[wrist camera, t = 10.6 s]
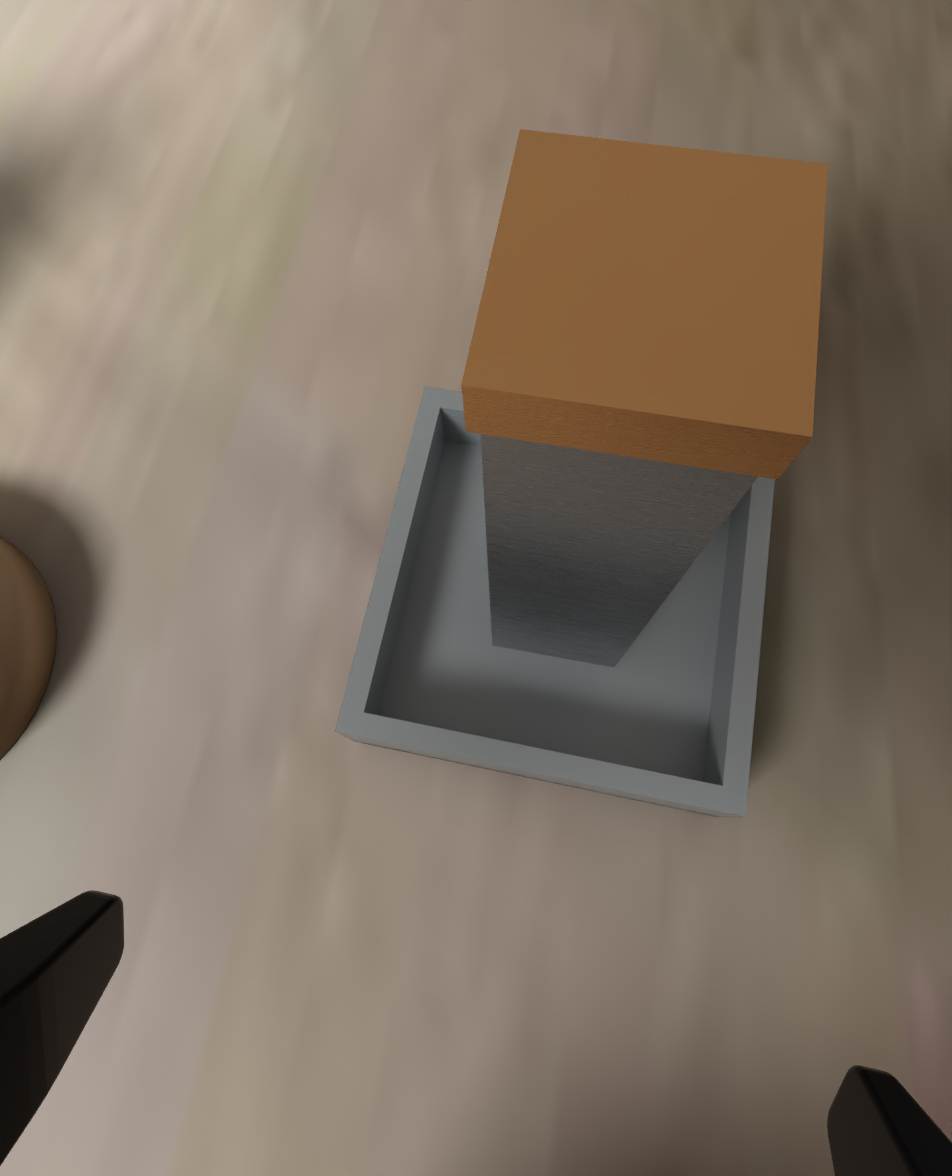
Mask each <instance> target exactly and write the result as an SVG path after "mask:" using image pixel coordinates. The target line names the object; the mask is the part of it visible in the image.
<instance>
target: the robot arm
mask: <svg viewBox="0 0 952 1176" xmlns="http://www.w3.org/2000/svg"><path fill="white" fill-rule="evenodd" d="M123 949H124V917H123V902H122V900H121V898H120V897H118V896H116V895H112V894H108V893H103V892H99V891H87V892H84V893H82V894H80V895H78V896H76V897H75V898H73V899H71V900H69V901H67V902H65V903H64V904H62V905H60V906H58V907H56V908H55V909H53V910H51V911H49V912H47V913H46V914H44V915H42V916H40V917H38V918H37V919H35V920H33V921H31V922H29V923H28V924H26V925H24V926H22V927H20V928H19V929H17V930H15V931H13V932H11V933H9V934H8V935H6V936H4V937H2V938H0V1166H1V1164H2V1163H3V1161H4V1160H5V1158H6V1157H7V1155H8V1154H9V1152H10V1151H11V1149H12V1148H13V1146H14V1145H15V1143H16V1142H17V1140H18V1139H19V1137H20V1136H21V1134H22V1133H23V1131H24V1130H25V1128H26V1127H27V1125H28V1124H29V1122H30V1121H31V1119H32V1118H33V1116H34V1114H35V1113H36V1111H37V1110H38V1108H39V1107H40V1105H41V1103H42V1102H43V1100H44V1099H45V1097H46V1096H47V1094H48V1092H49V1090H50V1089H51V1087H52V1085H53V1083H54V1082H55V1080H56V1078H57V1076H58V1075H59V1073H60V1071H61V1069H62V1068H63V1066H64V1064H65V1062H66V1060H67V1058H68V1056H69V1055H70V1053H71V1051H72V1049H73V1047H74V1045H75V1044H76V1042H77V1040H78V1038H79V1036H80V1034H81V1033H82V1031H83V1029H84V1027H85V1025H86V1023H87V1022H88V1020H89V1018H90V1016H91V1014H92V1012H93V1011H94V1009H95V1007H96V1005H97V1003H98V1001H99V999H100V998H101V996H102V994H103V992H104V990H105V988H106V987H107V985H108V983H109V981H110V979H111V977H112V976H113V974H114V972H115V970H116V968H117V966H118V964H119V962H120V959H121V957H122V953H123ZM827 1129H828V1138H829V1143H830V1149H831V1155H832V1161H833V1167H834V1173H835V1176H952V1142H951V1141H950V1140H949V1139H948V1138H947V1136H946V1135H945V1134H944V1133H943V1132H942V1131H941V1130H940V1128H939V1127H938V1126H937V1125H936V1124H935V1123H934V1122H933V1120H932V1119H931V1118H930V1117H929V1116H928V1115H927V1114H926V1112H925V1111H924V1110H923V1109H922V1108H921V1107H920V1105H919V1104H918V1103H917V1102H916V1101H915V1100H914V1099H913V1097H912V1096H911V1095H910V1094H909V1093H908V1092H907V1091H906V1089H905V1088H904V1087H903V1086H902V1085H901V1084H900V1083H899V1081H898V1080H897V1079H896V1078H894V1077H893V1076H892V1075H891V1074H889V1073H887V1072H885V1071H881V1070H877V1069H873V1068H868V1067H864V1066H859V1065H855V1066H853V1067H851V1068H850V1069H849V1070H848V1071H847V1073H846V1075H845V1078H844V1080H843V1082H842V1084H841V1086H840V1088H839V1090H838V1092H837V1094H836V1097H835V1099H834V1101H833V1103H832V1105H831V1107H830V1110H829V1114H828V1121H827Z"/></svg>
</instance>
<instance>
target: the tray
mask: <svg viewBox="0 0 952 1176" xmlns="http://www.w3.org/2000/svg"><path fill="white" fill-rule="evenodd" d="M774 484H775V479H771V478H764V477H757V479H756V480H755V481H754V483H753V484H752V485H751V487H750V488H749V489H748V491H747V492H746V493H745V495H744V496H743V497H742V499H741V500H740V501H739V503H738V504H737V505H736V507H735V508H734V509H733V511H732V512H731V513H730V515H729V516H728V517H727V519H726V520H725V521H724V523H723V524H722V525H721V526H720V528H719V529H718V530H717V532H716V533H715V534H714V536H713V537H712V538H711V540H710V541H709V542H708V544H707V545H706V546H705V548H704V549H703V550H702V552H701V553H700V554H699V556H698V557H697V558H696V560H695V561H694V562H693V564H692V565H691V566H690V568H689V569H688V570H687V572H686V573H685V574H684V576H683V577H682V578H681V580H680V581H679V582H678V584H677V585H676V586H675V588H674V589H673V590H672V592H671V593H670V594H669V596H668V597H667V598H666V599H665V601H664V602H663V603H662V605H661V606H660V607H659V609H658V610H657V611H656V613H655V614H654V615H653V617H652V618H651V619H650V621H649V622H648V623H647V625H646V626H645V627H644V629H643V630H642V631H641V633H640V634H639V635H638V637H637V638H636V639H635V641H634V642H633V643H632V645H631V646H630V647H629V649H628V650H627V651H626V653H625V654H624V655H623V657H622V658H621V659H620V661H619V662H618V663H617V665H616V666H615V667H614V668H613V667H608V666H602V665H597V664H591V663H586V662H580V661H575V660H569V659H564V658H558V657H553V656H547V655H541V654H536V653H530V652H525V651H519V650H514V649H508V648H503V647H497V646H492V632H491V614H490V596H489V578H488V560H487V542H486V524H485V506H484V488H483V470H482V452H481V434H478V433H471V432H466V429H465V418H464V407H463V396H462V392H456V391H450V390H444V389H437V388H431V387H424V391H423V395H422V399H421V403H420V406H419V410H418V414H417V418H416V422H415V426H414V429H413V433H412V437H411V441H410V445H409V449H408V452H407V456H406V460H405V464H404V468H403V472H402V475H401V479H400V483H399V487H398V491H397V495H396V498H395V502H394V506H393V510H392V514H391V518H390V521H389V525H388V529H387V533H386V537H385V541H384V544H383V548H382V552H381V556H380V560H379V564H378V567H377V571H376V575H375V579H374V583H373V587H372V590H371V594H370V598H369V602H368V606H367V610H366V613H365V617H364V621H363V625H362V629H361V633H360V637H359V640H358V644H357V648H356V652H355V656H354V660H353V663H352V667H351V671H350V675H349V679H348V683H347V686H346V690H345V694H344V698H343V702H342V706H341V709H340V713H339V717H338V721H337V725H336V729H335V732H337V733H339V734H341V735H343V736H345V737H347V738H349V739H351V740H353V741H356V742H360V743H365V744H370V745H375V746H379V747H384V748H389V749H394V750H399V751H403V752H408V753H413V754H418V755H423V756H427V757H432V758H437V759H442V760H447V761H451V762H456V763H461V764H466V765H471V766H475V767H480V768H485V769H490V770H494V771H499V772H504V773H509V774H514V775H518V776H523V777H528V778H533V779H538V780H542V781H547V782H552V783H557V784H562V785H566V786H571V787H576V788H581V789H586V790H590V791H595V792H600V793H605V794H609V795H614V796H619V797H624V798H629V799H633V800H638V801H643V802H648V803H653V804H657V805H662V806H667V807H672V808H677V809H681V810H686V811H691V812H696V813H701V814H705V815H710V816H715V817H746V808H747V797H748V785H749V774H750V762H751V750H752V739H753V727H754V716H755V704H756V693H757V681H758V669H759V658H760V646H761V635H762V623H763V612H764V600H765V588H766V577H767V565H768V554H769V542H770V531H771V519H772V507H773V496H774Z"/></svg>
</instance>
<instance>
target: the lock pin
mask: <svg viewBox="0 0 952 1176" xmlns="http://www.w3.org/2000/svg"><path fill="white" fill-rule="evenodd" d="M827 175H828V164H821V163H812V162H804V161H795V160H786V159H777V158H768V157H759V156H751V155H742V154H733V153H724V152H715V151H707V150H698V149H689V148H680V147H671V146H662V145H654V144H645V143H636V142H627V141H618V140H609V139H601V138H592V137H583V136H574V135H565V134H557V133H548V132H539V131H530V130H521V129H520V132H519V137H518V141H517V146H516V150H515V154H514V159H513V163H512V167H511V172H510V176H509V180H508V185H507V189H506V193H505V198H504V202H503V206H502V211H501V215H500V219H499V224H498V228H497V233H496V237H495V241H494V246H493V250H492V254H491V259H490V263H489V267H488V272H487V276H486V280H485V285H484V289H483V293H482V298H481V302H480V307H479V311H478V315H477V320H476V324H475V328H474V333H473V337H472V341H471V346H470V350H469V354H468V359H467V363H466V367H465V372H464V376H463V380H462V385H461V386H462V396H463V407H464V418H465V429H466V432H471V433H478V434H481V452H482V470H483V488H484V506H485V524H486V542H487V560H488V578H489V596H490V614H491V632H492V646H497V647H503V648H508V649H514V650H519V651H525V652H530V653H536V654H541V655H547V656H553V657H558V658H564V659H569V660H575V661H580V662H586V663H591V664H597V665H602V666H608V667H613V668H614V667H615V666H616V665H617V663H618V662H619V661H620V659H621V658H622V657H623V655H624V654H625V653H626V651H627V650H628V649H629V647H630V646H631V645H632V643H633V642H634V641H635V639H636V638H637V637H638V635H639V634H640V633H641V631H642V630H643V629H644V627H645V626H646V625H647V623H648V622H649V621H650V619H651V618H652V617H653V615H654V614H655V613H656V611H657V610H658V609H659V607H660V606H661V605H662V603H663V602H664V601H665V599H666V598H667V597H668V596H669V594H670V593H671V592H672V590H673V589H674V588H675V586H676V585H677V584H678V582H679V581H680V580H681V578H682V577H683V576H684V574H685V573H686V572H687V570H688V569H689V568H690V566H691V565H692V564H693V562H694V561H695V560H696V558H697V557H698V556H699V554H700V553H701V552H702V550H703V549H704V548H705V546H706V545H707V544H708V542H709V541H710V540H711V538H712V537H713V536H714V534H715V533H716V532H717V530H718V529H719V528H720V526H721V525H722V524H723V523H724V521H725V520H726V519H727V517H728V516H729V515H730V513H731V512H732V511H733V509H734V508H735V507H736V505H737V504H738V503H739V501H740V500H741V499H742V497H743V496H744V495H745V493H746V492H747V491H748V489H749V488H750V487H751V485H752V484H753V483H754V481H755V480H756V479H757V477H764V478H771V479H777V480H778V479H779V477H780V476H781V475H782V474H783V472H784V471H785V470H786V469H787V468H788V466H789V465H790V464H791V463H792V461H793V460H794V459H795V458H796V456H797V455H798V454H799V453H800V452H801V450H802V449H803V448H804V447H805V445H806V444H807V443H808V442H809V441H810V439H811V438H812V437H813V420H814V402H815V385H816V367H817V350H818V333H819V315H820V298H821V280H822V263H823V245H824V228H825V210H826V193H827Z"/></svg>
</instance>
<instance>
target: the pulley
mask: <svg viewBox="0 0 952 1176" xmlns="http://www.w3.org/2000/svg"><path fill="white" fill-rule="evenodd" d="M55 648H56V622H55V613H54V609H53V604H52V600H51V597H50V594H49V592H48V589H47V587H46V584H45V582H44V580H43V579H42V577H41V575H40V573H39V572H38V570H37V568H36V567H35V566H34V565H33V564H32V562H31V561H30V560H29V559H28V558H27V556H25V555H24V554H23V553H22V552H21V551H20V550H18V549H17V548H16V547H15V546H14V545H12V544H11V543H9V542H7V541H6V540H4V539H2V538H1V537H0V759H1V758H2V757H3V756H4V755H5V754H6V752H7V751H8V750H9V749H10V748H11V747H12V746H13V745H14V743H15V742H16V741H17V739H18V738H19V737H20V735H21V734H22V733H23V731H24V730H25V729H26V727H27V725H28V724H29V722H30V720H31V719H32V717H33V715H34V714H35V712H36V710H37V708H38V706H39V704H40V701H41V699H42V697H43V695H44V693H45V690H46V687H47V684H48V681H49V678H50V675H51V672H52V667H53V661H54V656H55Z"/></svg>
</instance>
